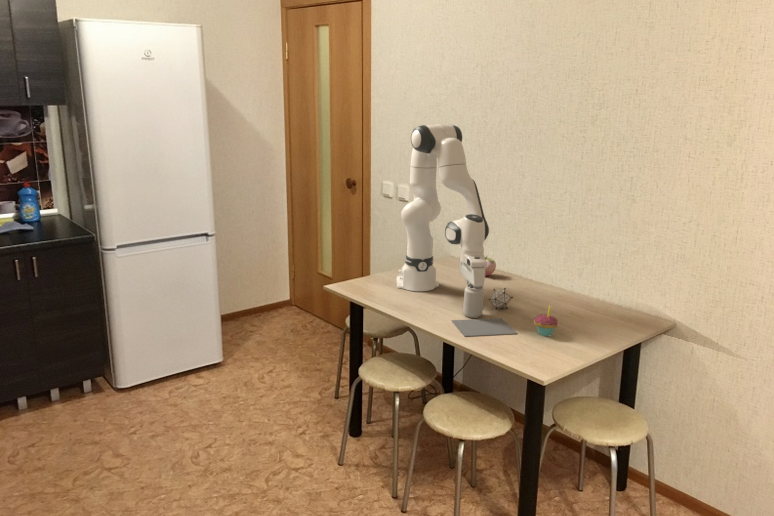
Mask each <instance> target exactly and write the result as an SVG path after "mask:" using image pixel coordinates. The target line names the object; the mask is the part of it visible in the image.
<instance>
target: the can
mask: <svg viewBox="0 0 774 516" xmlns="http://www.w3.org/2000/svg"><path fill="white" fill-rule="evenodd" d="M484 295H485V289H484V287H483V286H482V287H474V286H473V285H472V284H468V285H467V284H466V287H465V288H464V296H463V307H462V308H463V309H462V314H463V315H464V316H465V317H466V318H470V319H477V318H476V317H478V318H480V317H481V316H482V315H483V311H484V310H483V308H484V300H485V299H484V298H485V296H484Z"/></svg>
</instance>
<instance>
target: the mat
mask: <svg viewBox="0 0 774 516" xmlns="http://www.w3.org/2000/svg"><path fill="white" fill-rule="evenodd" d="M450 321H451V323H452V324H453V325H454V326H455V327H456V329H458V331H459V332H460V333H461V334H462V335H463V336H464V337H466V338H467V337H468V338H469V337H484V336H485V337H486V336H487V337H488V336H504V335H505V336H507V335H509V336H510V335H518V334H519V333H518V332H517V331H516V330H515V329H514V328H513V327H512V326H511V325H510V324H509V323H508V322H507V321H506V320H505V319H503V318H502V317H495V318H494V317H493V318H470V319H452V320H450Z"/></svg>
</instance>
